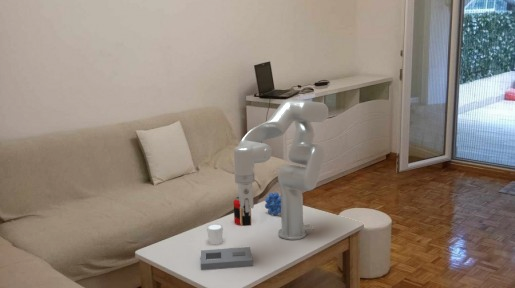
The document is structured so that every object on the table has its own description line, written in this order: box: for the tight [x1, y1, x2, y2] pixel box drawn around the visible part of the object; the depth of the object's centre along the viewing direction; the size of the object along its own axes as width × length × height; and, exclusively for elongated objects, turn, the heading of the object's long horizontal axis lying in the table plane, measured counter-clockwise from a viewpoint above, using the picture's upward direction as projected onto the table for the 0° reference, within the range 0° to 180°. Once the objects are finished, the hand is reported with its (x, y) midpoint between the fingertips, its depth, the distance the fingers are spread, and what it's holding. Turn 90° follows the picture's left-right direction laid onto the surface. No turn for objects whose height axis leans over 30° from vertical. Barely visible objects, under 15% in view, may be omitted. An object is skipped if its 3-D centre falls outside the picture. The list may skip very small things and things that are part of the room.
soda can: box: [233, 196, 241, 226], centre depth 235 cm, size 8×8×12 cm
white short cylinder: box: [206, 223, 224, 245], centre depth 215 cm, size 7×7×7 cm
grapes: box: [264, 192, 281, 216], centre depth 243 cm, size 12×7×12 cm, turn 51°
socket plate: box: [200, 246, 254, 271], centre depth 197 cm, size 20×12×3 cm, turn 96°
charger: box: [240, 206, 252, 227], centre depth 194 cm, size 4×4×8 cm
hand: (245, 222), depth 194 cm, fingers closed on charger, 4 cm apart
